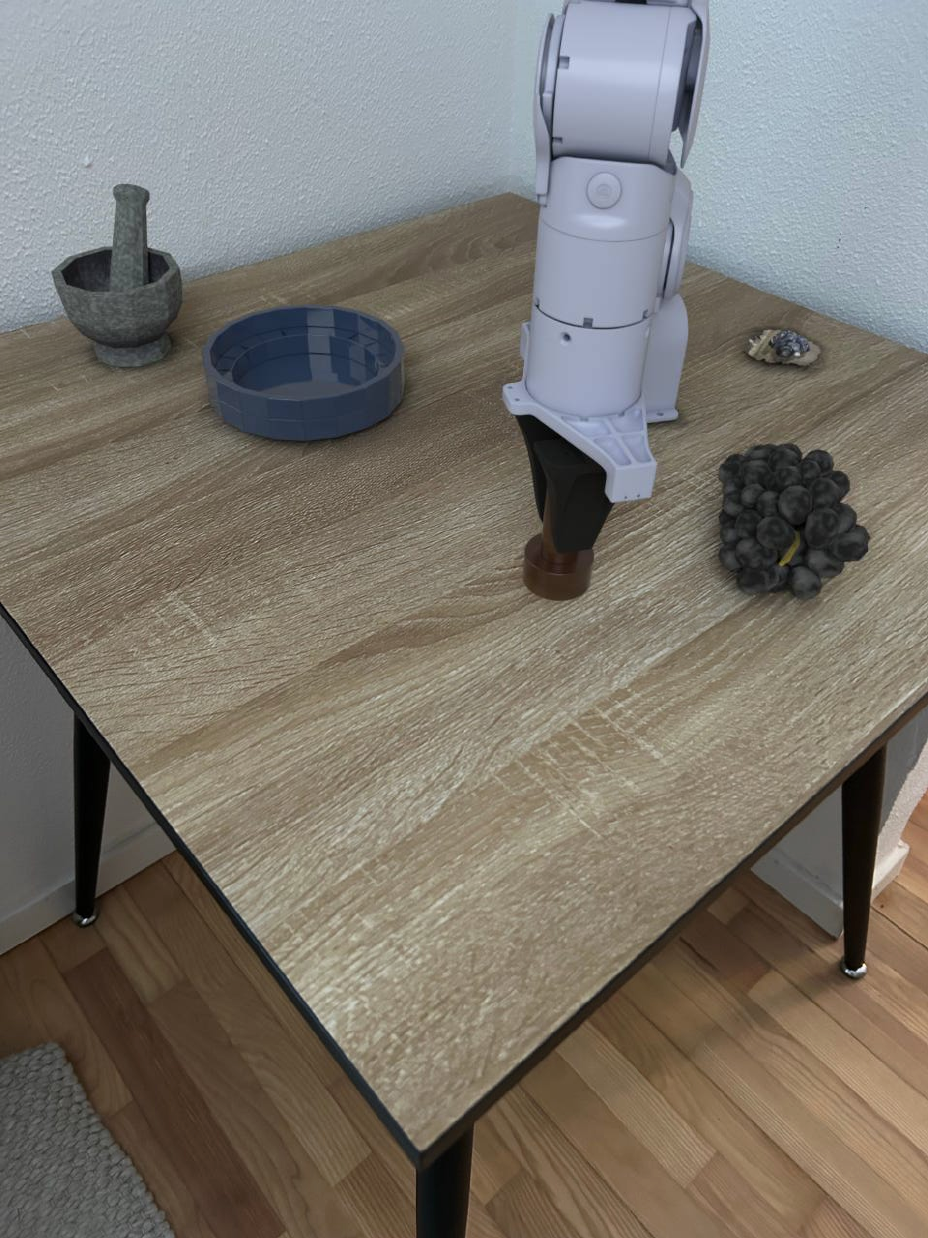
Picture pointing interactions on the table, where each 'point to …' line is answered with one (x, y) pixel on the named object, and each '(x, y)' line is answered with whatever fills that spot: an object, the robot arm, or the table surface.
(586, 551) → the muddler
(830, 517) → the fruit
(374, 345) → the bowl
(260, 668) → the table surface
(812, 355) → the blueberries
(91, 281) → the mortar and pestle
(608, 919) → the table surface
